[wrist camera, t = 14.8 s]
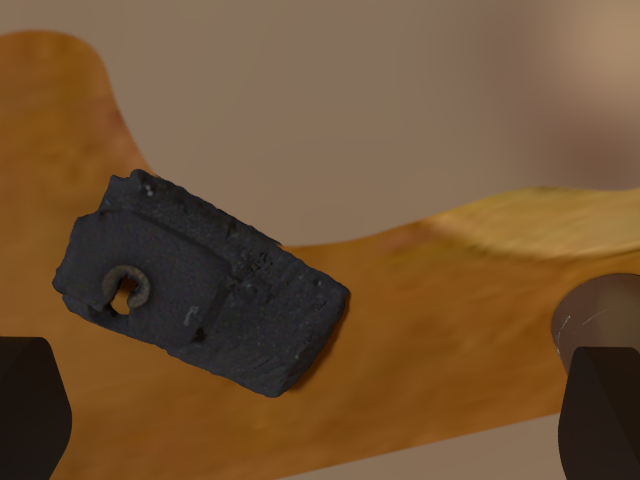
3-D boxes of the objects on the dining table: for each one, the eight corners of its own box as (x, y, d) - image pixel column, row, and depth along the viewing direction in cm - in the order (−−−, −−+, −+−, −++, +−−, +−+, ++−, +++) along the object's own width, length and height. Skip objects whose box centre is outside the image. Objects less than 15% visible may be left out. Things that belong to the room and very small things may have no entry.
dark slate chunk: (274, 401, 57) (266, 441, 53) (51, 291, 53) (23, 325, 48) (364, 286, 50) (363, 322, 46) (115, 149, 46) (89, 174, 41)
